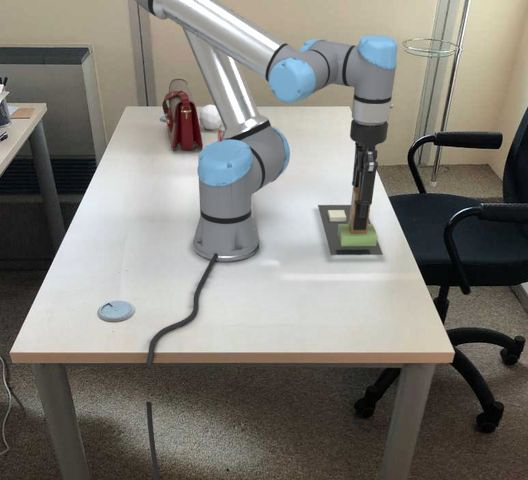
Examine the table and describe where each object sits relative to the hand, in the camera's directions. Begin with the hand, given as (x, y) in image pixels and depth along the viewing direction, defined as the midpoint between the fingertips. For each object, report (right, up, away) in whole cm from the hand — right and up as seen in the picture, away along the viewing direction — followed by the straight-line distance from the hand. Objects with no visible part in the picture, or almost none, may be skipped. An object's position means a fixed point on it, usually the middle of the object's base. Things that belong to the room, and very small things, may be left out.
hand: (358, 224), depth 146 cm
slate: (-1, 0, +12) cm, 12 cm away
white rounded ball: (-39, +48, +66) cm, 91 cm away
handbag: (-47, +39, +61) cm, 86 cm away
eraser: (-3, +5, +16) cm, 17 cm away
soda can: (-31, +23, +41) cm, 56 cm away
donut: (-21, +39, +63) cm, 77 cm away
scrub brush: (0, -3, +2) cm, 4 cm away
